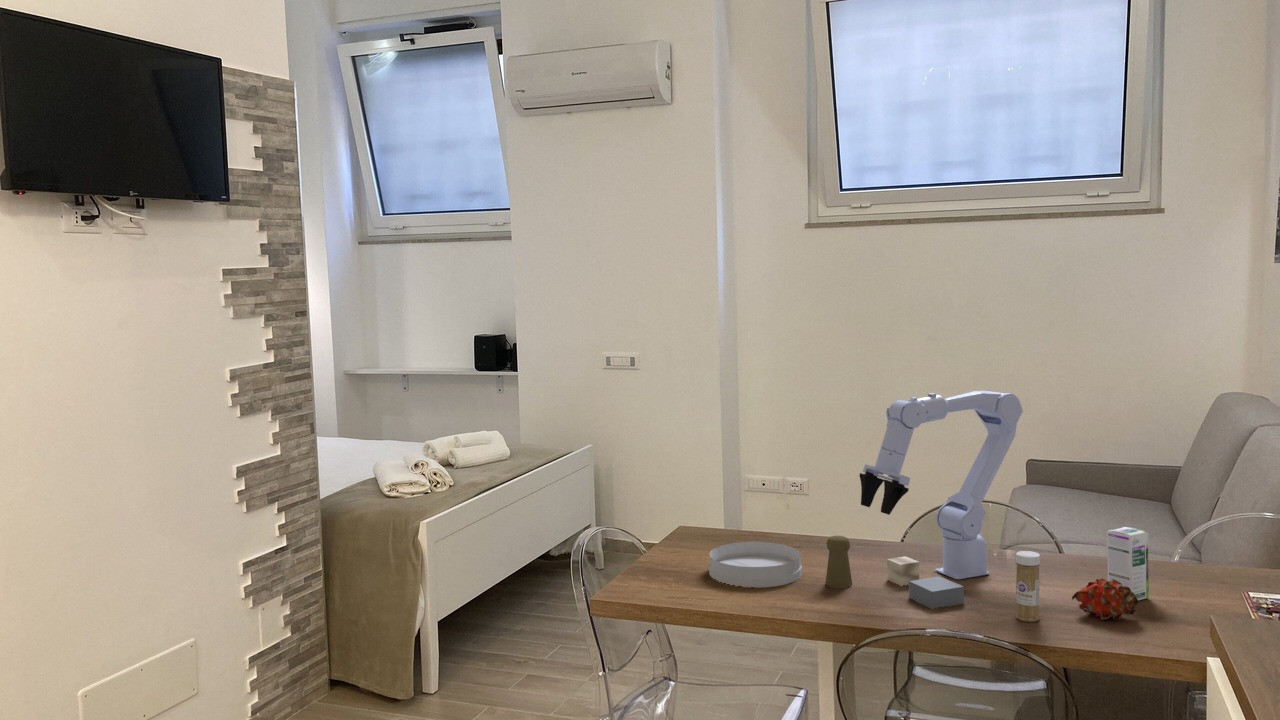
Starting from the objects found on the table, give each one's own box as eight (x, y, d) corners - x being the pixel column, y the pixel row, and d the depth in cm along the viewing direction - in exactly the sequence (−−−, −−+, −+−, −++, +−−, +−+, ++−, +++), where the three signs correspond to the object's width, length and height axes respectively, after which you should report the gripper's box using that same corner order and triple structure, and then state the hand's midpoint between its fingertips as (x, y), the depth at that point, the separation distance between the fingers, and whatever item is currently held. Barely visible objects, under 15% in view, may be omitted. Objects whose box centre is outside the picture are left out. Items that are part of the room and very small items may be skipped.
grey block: (939, 594, 208) (939, 576, 208) (963, 605, 201) (963, 586, 201) (909, 599, 206) (908, 581, 205) (932, 610, 198) (932, 591, 198)
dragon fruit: (1143, 631, 186) (1077, 631, 192) (1141, 596, 192) (1076, 596, 198) (1136, 604, 182) (1068, 605, 188) (1134, 569, 188) (1068, 570, 194)
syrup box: (1131, 603, 198) (1132, 535, 197) (1106, 595, 203) (1106, 529, 202) (1149, 598, 200) (1149, 531, 199) (1123, 591, 206) (1124, 525, 205)
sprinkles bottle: (1012, 619, 191) (1012, 554, 190) (1020, 613, 194) (1020, 548, 193) (1036, 624, 188) (1035, 557, 187) (1043, 617, 191) (1043, 552, 190)
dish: (821, 576, 224) (821, 555, 224) (750, 595, 212) (750, 573, 211) (759, 556, 242) (758, 536, 242) (690, 572, 230) (689, 552, 230)
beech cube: (905, 577, 220) (905, 556, 220) (919, 583, 216) (919, 561, 215) (887, 580, 219) (887, 559, 218) (901, 586, 214) (900, 564, 214)
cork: (852, 588, 213) (851, 540, 212) (825, 587, 214) (824, 539, 214) (852, 580, 219) (851, 533, 218) (825, 579, 220) (824, 532, 219)
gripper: (860, 442, 219) (842, 498, 218) (899, 452, 205) (880, 512, 205) (884, 450, 221) (866, 506, 221) (924, 461, 208) (905, 520, 207)
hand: (874, 509), depth 213 cm, fingers open, 7 cm apart
